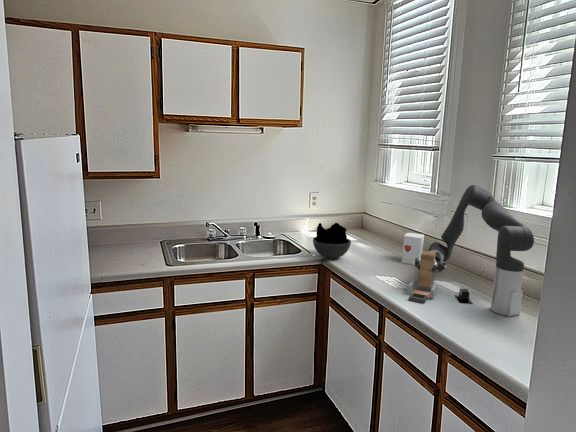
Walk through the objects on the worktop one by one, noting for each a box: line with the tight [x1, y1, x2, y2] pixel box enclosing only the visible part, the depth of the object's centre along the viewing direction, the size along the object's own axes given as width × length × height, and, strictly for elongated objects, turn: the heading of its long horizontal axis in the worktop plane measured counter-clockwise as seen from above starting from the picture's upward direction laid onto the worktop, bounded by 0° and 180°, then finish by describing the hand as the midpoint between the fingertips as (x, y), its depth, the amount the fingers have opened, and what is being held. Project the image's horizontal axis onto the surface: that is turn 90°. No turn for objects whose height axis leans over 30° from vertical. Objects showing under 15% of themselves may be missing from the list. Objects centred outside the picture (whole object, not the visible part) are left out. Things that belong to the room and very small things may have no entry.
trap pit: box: [408, 293, 428, 305], centre depth 171 cm, size 6×6×2 cm
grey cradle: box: [406, 279, 439, 301], centre depth 177 cm, size 9×10×4 cm
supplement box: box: [401, 232, 425, 266], centre depth 222 cm, size 9×9×15 cm
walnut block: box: [418, 250, 436, 288], centre depth 181 cm, size 5×5×14 cm
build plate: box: [453, 288, 474, 305], centre depth 173 cm, size 12×7×5 cm, turn 171°
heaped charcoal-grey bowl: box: [312, 222, 352, 260], centre depth 224 cm, size 20×20×19 cm
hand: (426, 268), depth 178 cm, fingers closed on walnut block, 5 cm apart
